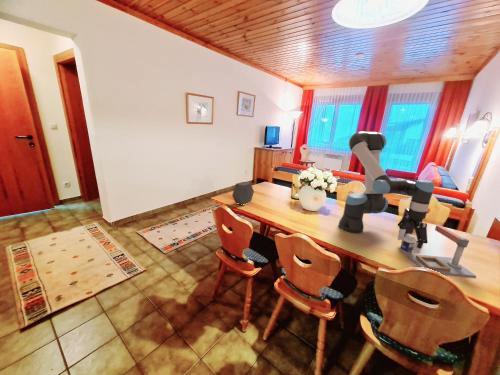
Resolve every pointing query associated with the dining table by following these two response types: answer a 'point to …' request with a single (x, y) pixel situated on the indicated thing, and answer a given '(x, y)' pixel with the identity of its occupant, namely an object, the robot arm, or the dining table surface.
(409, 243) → the pill bottle
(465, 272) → the latch board
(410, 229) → the supplement box
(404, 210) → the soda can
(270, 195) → the dining table surface
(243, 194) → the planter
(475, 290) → the dining table surface
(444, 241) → the dining table surface
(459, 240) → the bar
